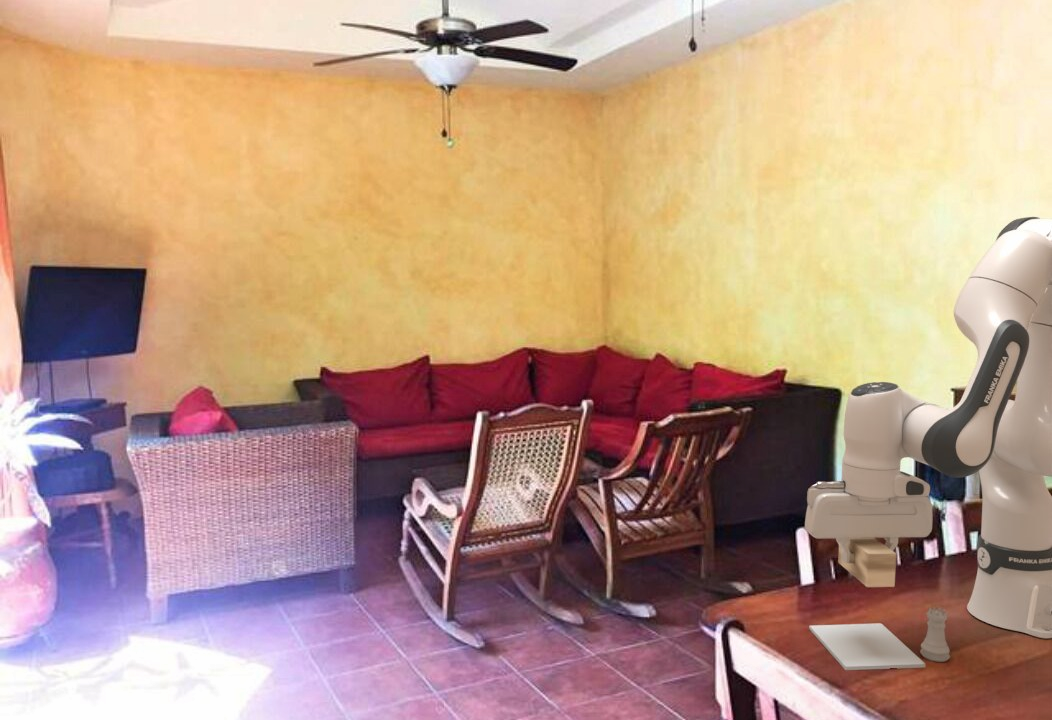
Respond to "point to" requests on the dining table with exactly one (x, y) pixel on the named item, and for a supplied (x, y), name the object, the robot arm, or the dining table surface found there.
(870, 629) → the rubber mat
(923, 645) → the rook chess piece
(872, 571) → the maple block
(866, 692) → the dining table surface
